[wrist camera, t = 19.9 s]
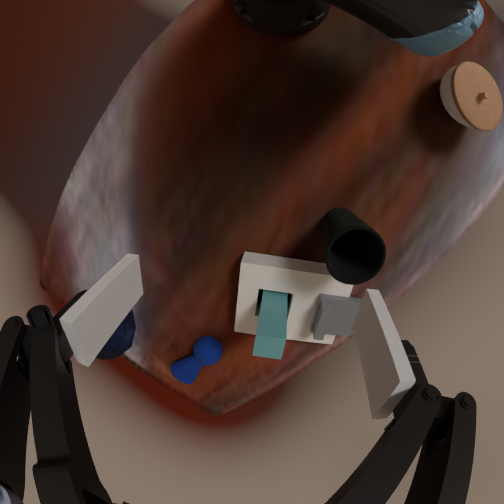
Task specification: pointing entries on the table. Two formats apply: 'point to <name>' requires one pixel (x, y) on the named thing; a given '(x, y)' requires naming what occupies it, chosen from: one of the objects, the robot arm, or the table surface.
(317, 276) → the socket box
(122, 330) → the decorative orb
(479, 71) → the lidded jar
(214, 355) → the toy
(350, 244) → the cup
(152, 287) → the table surface
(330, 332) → the plate
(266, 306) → the plug
